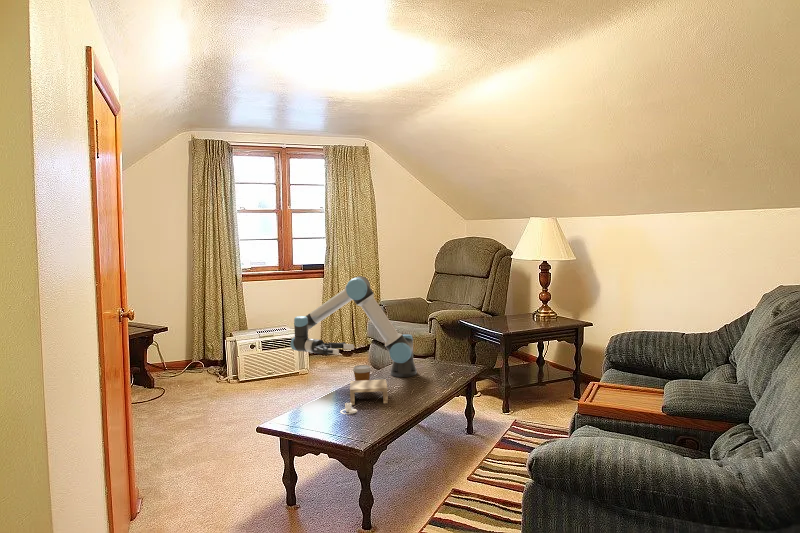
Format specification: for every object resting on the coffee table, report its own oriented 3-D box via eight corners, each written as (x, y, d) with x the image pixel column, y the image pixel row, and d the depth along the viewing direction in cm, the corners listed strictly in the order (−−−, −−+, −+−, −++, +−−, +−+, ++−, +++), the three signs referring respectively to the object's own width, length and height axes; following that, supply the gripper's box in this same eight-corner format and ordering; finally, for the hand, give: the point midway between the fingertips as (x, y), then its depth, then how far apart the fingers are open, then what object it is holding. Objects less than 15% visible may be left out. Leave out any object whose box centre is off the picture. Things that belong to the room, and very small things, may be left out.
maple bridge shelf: (386, 393, 288) (385, 379, 288) (387, 403, 272) (387, 387, 272) (350, 395, 287) (350, 380, 287) (350, 405, 271) (350, 389, 271)
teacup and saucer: (358, 414, 258) (358, 405, 258) (341, 416, 256) (340, 407, 256) (356, 408, 267) (355, 400, 266) (339, 410, 265) (339, 401, 265)
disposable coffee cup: (369, 392, 292) (368, 369, 291) (351, 391, 294) (350, 369, 293) (373, 387, 301) (372, 365, 300) (356, 386, 303) (355, 364, 302)
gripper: (329, 348, 323) (359, 351, 312) (300, 357, 302) (331, 361, 291) (328, 335, 323) (359, 338, 312) (299, 343, 301) (331, 346, 290)
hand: (346, 349), depth 301 cm, fingers open, 13 cm apart
